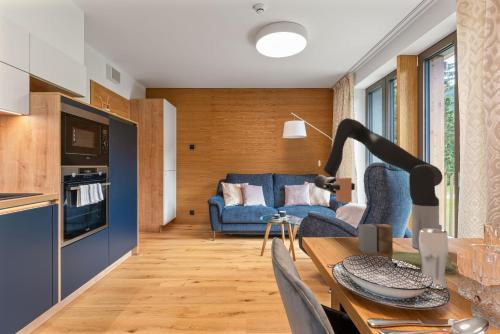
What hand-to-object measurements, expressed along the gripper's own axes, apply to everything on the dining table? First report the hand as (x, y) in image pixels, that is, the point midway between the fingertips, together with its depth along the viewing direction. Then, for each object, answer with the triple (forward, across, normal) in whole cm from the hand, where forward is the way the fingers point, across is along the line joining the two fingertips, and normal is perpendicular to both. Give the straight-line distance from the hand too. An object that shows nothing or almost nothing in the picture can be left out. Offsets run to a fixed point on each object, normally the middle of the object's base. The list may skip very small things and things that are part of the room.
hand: (345, 187), depth 117 cm
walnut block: (+9, +11, +24) cm, 28 cm away
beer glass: (+40, +10, +24) cm, 48 cm away
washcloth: (+24, +16, +24) cm, 38 cm away
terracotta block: (-3, 0, +6) cm, 7 cm away
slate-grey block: (+9, +5, +24) cm, 26 cm away
